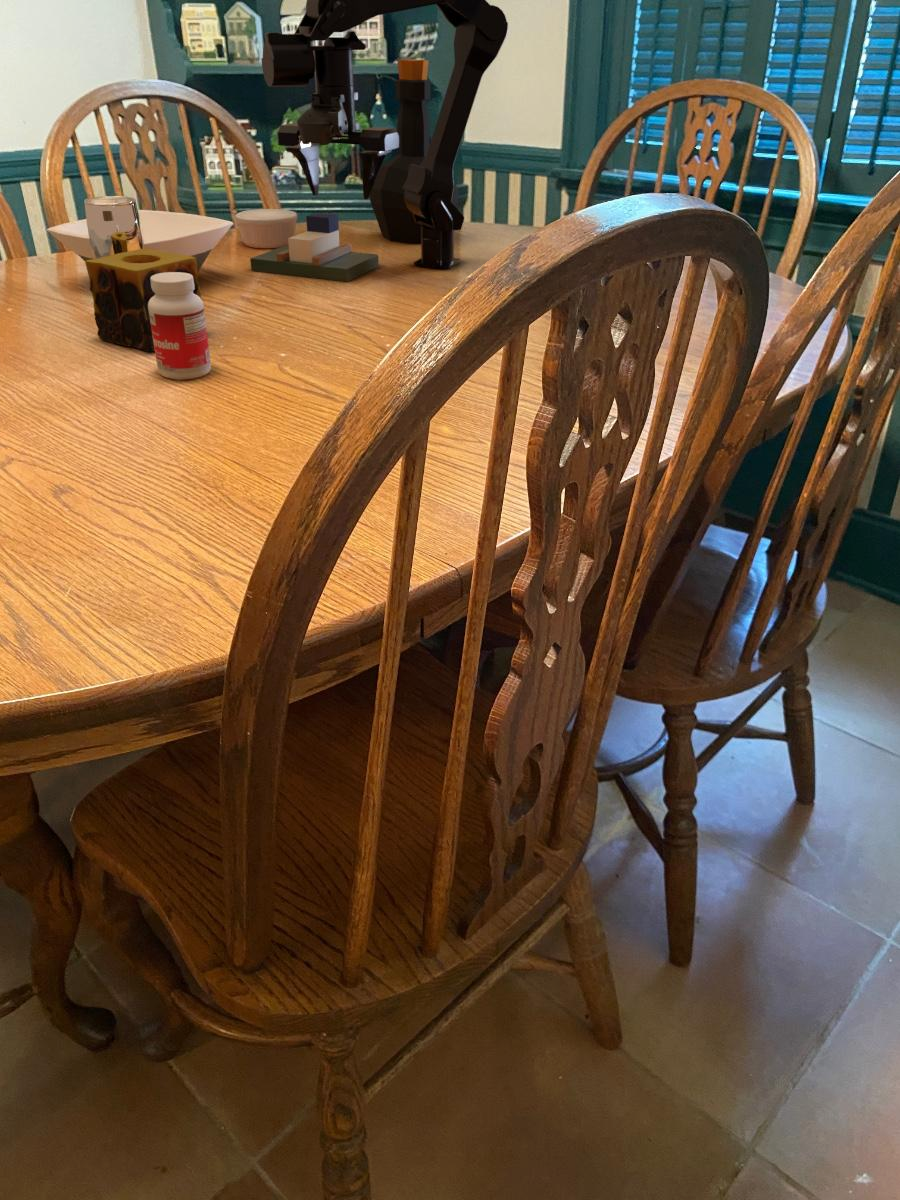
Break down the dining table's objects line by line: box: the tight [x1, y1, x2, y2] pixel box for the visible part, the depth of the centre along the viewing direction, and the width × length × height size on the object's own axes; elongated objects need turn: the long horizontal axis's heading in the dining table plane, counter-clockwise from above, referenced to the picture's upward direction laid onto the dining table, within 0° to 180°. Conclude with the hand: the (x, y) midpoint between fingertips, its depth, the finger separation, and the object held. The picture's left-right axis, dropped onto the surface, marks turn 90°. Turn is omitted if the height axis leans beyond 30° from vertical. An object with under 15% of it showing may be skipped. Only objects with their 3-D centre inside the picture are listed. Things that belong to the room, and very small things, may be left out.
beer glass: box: [83, 195, 144, 259], centre depth 125 cm, size 7×7×15 cm
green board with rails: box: [249, 243, 379, 283], centre depth 153 cm, size 12×18×3 cm, turn 69°
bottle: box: [369, 58, 459, 243], centre depth 170 cm, size 16×16×30 cm
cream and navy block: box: [288, 212, 341, 263], centre depth 151 cm, size 10×4×6 cm, turn 159°
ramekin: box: [234, 208, 298, 249], centre depth 169 cm, size 11×11×5 cm
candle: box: [84, 249, 202, 353], centre depth 117 cm, size 10×10×10 cm
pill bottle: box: [148, 272, 212, 381], centre depth 105 cm, size 6×6×11 cm
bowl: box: [46, 209, 234, 274], centre depth 142 cm, size 22×23×8 cm
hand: (340, 197), depth 145 cm, fingers open, 9 cm apart
